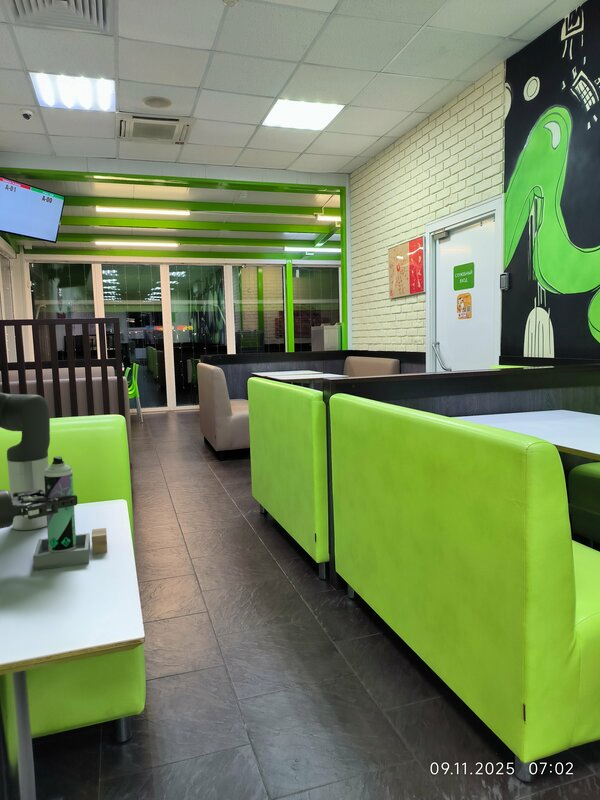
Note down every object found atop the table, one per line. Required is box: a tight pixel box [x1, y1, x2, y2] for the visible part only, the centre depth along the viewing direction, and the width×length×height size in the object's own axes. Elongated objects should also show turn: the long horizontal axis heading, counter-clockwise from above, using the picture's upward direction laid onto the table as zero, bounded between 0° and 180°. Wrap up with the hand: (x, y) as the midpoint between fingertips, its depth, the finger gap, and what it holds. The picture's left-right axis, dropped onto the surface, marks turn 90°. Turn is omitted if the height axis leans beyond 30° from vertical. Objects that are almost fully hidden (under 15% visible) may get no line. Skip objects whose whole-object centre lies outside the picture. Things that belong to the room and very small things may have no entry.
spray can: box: [44, 456, 77, 553], centre depth 118 cm, size 6×6×20 cm
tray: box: [32, 532, 91, 572], centre depth 119 cm, size 10×10×3 cm
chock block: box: [91, 527, 108, 555], centre depth 124 cm, size 5×3×4 cm, turn 19°
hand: (72, 496), depth 119 cm, fingers closed on spray can, 5 cm apart
